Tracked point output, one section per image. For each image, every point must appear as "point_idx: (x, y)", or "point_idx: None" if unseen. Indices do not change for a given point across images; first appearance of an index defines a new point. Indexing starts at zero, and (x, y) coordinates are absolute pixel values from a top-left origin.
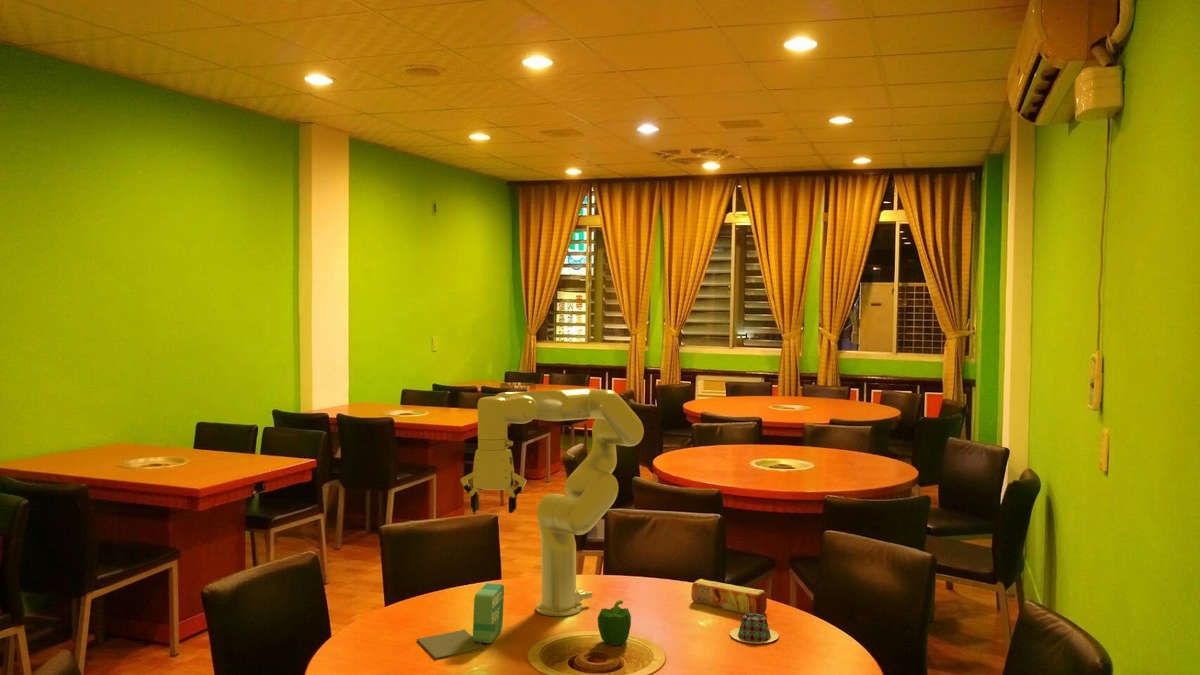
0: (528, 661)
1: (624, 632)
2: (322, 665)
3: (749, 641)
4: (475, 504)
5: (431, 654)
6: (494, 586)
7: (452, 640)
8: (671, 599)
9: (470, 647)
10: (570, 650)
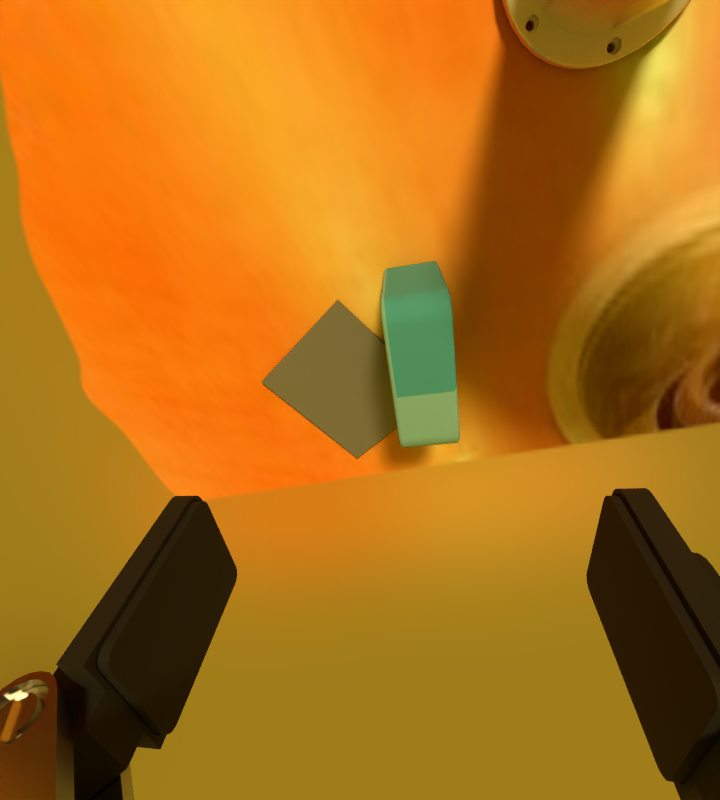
0: (557, 429)
1: None
2: None
3: None
4: (207, 632)
5: (339, 442)
6: (429, 352)
7: (344, 374)
8: None
9: None
10: (663, 353)
